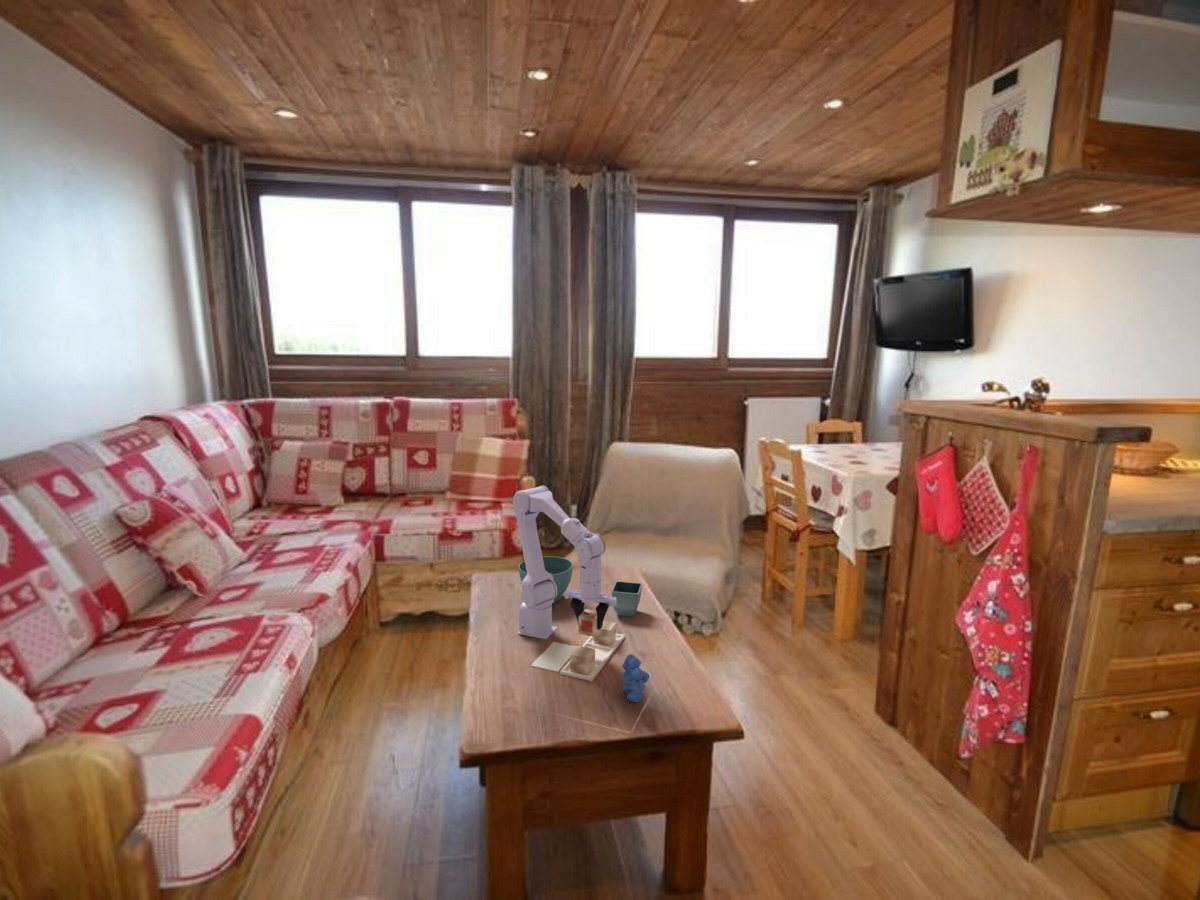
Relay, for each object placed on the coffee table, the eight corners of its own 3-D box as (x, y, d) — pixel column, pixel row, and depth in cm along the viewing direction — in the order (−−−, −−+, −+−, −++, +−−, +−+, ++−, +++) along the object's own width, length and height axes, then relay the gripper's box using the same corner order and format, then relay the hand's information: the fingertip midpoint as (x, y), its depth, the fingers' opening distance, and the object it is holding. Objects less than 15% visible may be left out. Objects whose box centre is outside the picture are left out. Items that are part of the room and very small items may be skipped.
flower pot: (638, 620, 188) (638, 593, 186) (610, 618, 189) (611, 591, 188) (642, 608, 196) (642, 583, 195) (615, 606, 198) (615, 580, 196)
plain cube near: (570, 671, 157) (570, 654, 156) (577, 662, 162) (577, 645, 161) (587, 675, 155) (587, 657, 154) (595, 666, 160) (595, 648, 159)
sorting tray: (560, 675, 156) (560, 671, 156) (596, 633, 179) (596, 629, 179) (592, 682, 153) (592, 678, 153) (624, 638, 176) (624, 634, 176)
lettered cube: (578, 633, 163) (578, 616, 162) (585, 625, 168) (585, 608, 167) (595, 637, 161) (595, 619, 160) (602, 629, 166) (602, 611, 165)
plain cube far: (593, 643, 172) (593, 627, 171) (600, 636, 177) (600, 620, 176) (610, 646, 170) (610, 630, 169) (616, 639, 175) (616, 623, 174)
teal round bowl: (510, 606, 197) (509, 571, 195) (532, 586, 214) (531, 553, 212) (561, 614, 192) (561, 577, 190) (580, 592, 209) (580, 558, 207)
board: (530, 667, 160) (530, 665, 160) (553, 643, 173) (553, 641, 173) (557, 673, 157) (557, 671, 157) (579, 648, 170) (579, 646, 170)
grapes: (657, 712, 140) (658, 665, 138) (630, 716, 139) (630, 669, 137) (642, 685, 151) (643, 641, 149) (616, 689, 150) (617, 644, 148)
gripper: (560, 580, 161) (560, 627, 163) (610, 588, 156) (610, 637, 158) (570, 571, 167) (570, 617, 170) (619, 579, 162) (618, 626, 165)
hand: (590, 626), depth 164 cm, fingers closed on lettered cube, 5 cm apart
